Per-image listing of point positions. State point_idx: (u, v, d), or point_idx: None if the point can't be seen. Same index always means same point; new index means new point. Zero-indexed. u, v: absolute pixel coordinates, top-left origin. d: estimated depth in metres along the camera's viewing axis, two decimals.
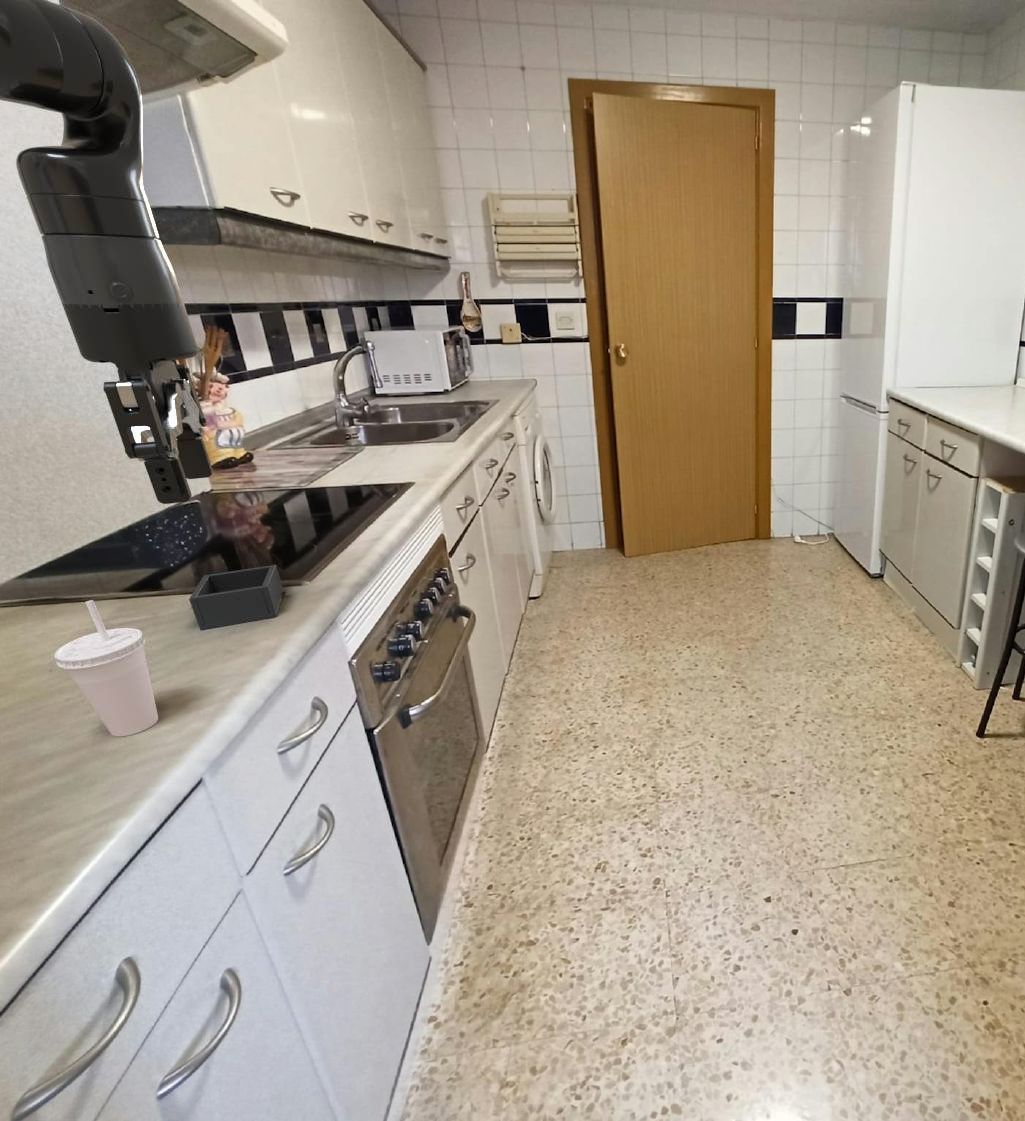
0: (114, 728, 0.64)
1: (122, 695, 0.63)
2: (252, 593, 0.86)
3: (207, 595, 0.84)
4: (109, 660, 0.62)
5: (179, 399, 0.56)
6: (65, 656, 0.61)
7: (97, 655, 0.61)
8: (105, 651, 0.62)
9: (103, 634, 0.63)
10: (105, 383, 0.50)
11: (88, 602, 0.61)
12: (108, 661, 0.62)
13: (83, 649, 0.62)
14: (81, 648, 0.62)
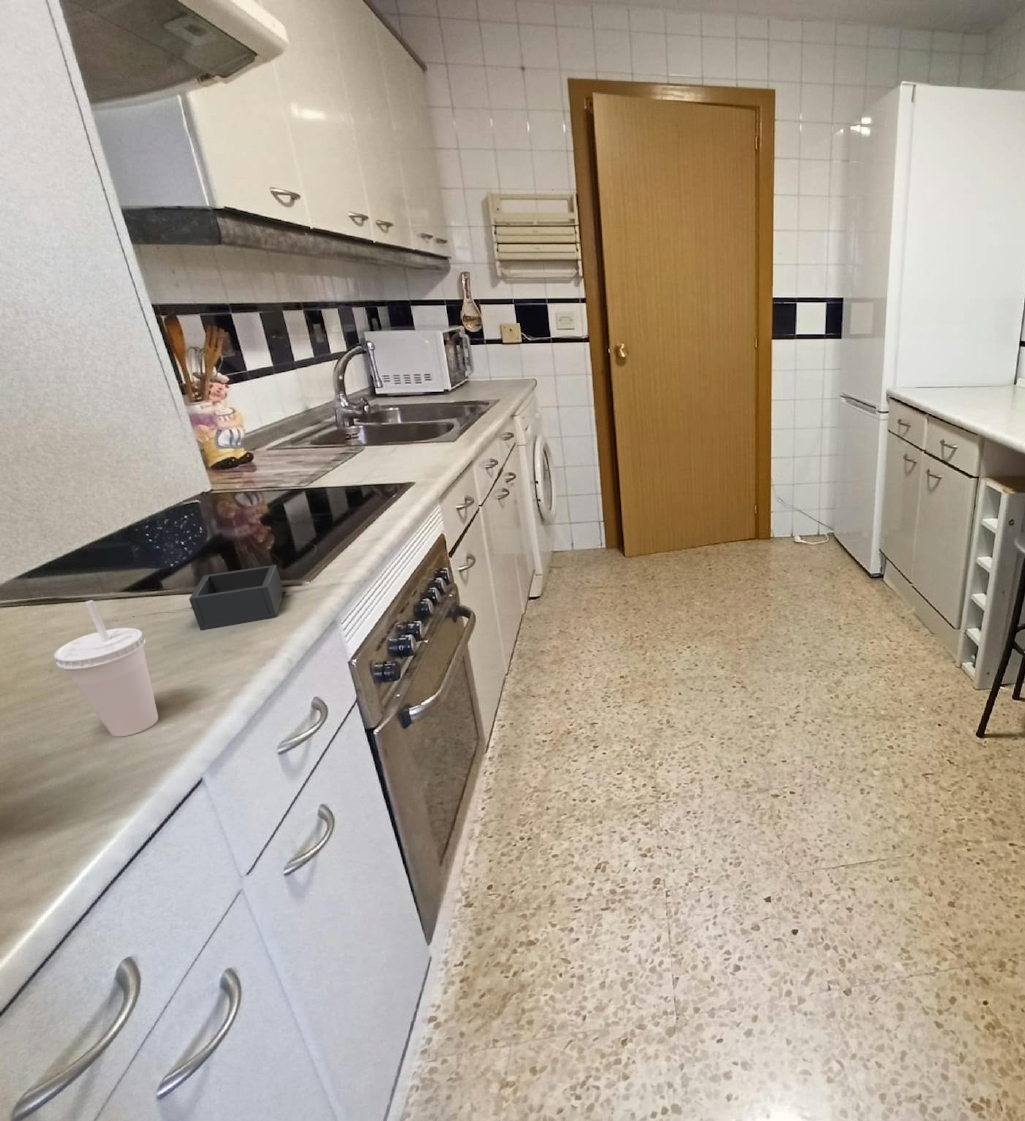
0: (114, 728, 0.64)
1: (121, 695, 0.63)
2: (252, 593, 0.86)
3: (207, 595, 0.84)
4: (109, 660, 0.62)
5: None
6: (65, 656, 0.61)
7: (97, 655, 0.61)
8: (105, 651, 0.62)
9: (103, 634, 0.63)
10: None
11: (88, 602, 0.61)
12: (108, 661, 0.62)
13: (83, 649, 0.62)
14: (81, 648, 0.62)
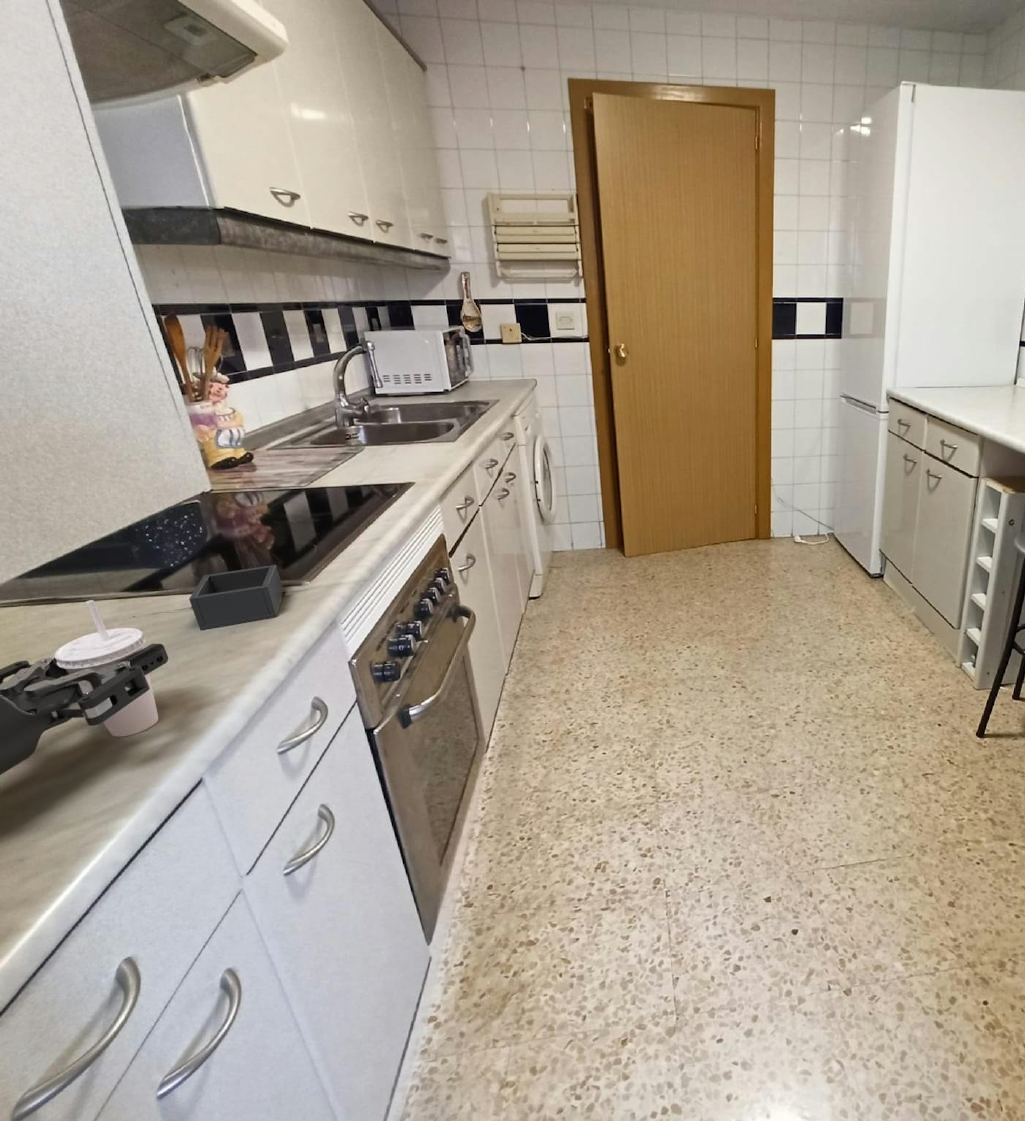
0: (114, 728, 0.64)
1: None
2: (252, 593, 0.86)
3: (207, 595, 0.84)
4: (109, 660, 0.62)
5: None
6: (65, 656, 0.61)
7: (97, 655, 0.61)
8: (105, 651, 0.62)
9: (103, 634, 0.63)
10: None
11: (88, 602, 0.61)
12: (108, 661, 0.62)
13: (83, 649, 0.62)
14: (81, 648, 0.62)
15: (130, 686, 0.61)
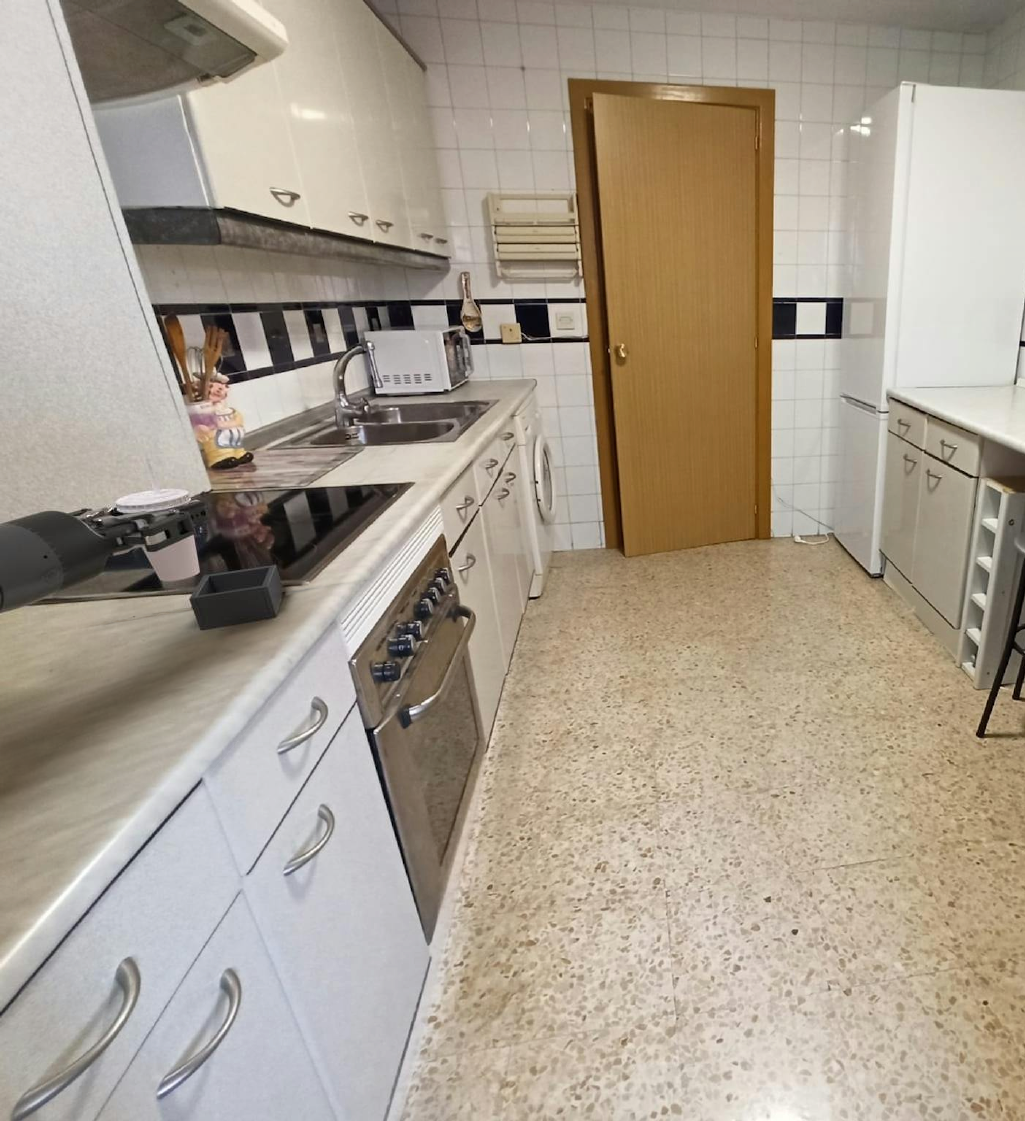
0: (163, 572, 0.75)
1: None
2: (252, 593, 0.86)
3: (207, 595, 0.84)
4: (161, 508, 0.72)
5: None
6: (124, 503, 0.71)
7: (152, 502, 0.71)
8: (158, 501, 0.72)
9: (156, 488, 0.73)
10: None
11: (144, 458, 0.72)
12: (161, 509, 0.72)
13: (139, 499, 0.72)
14: (137, 498, 0.72)
15: (180, 528, 0.71)
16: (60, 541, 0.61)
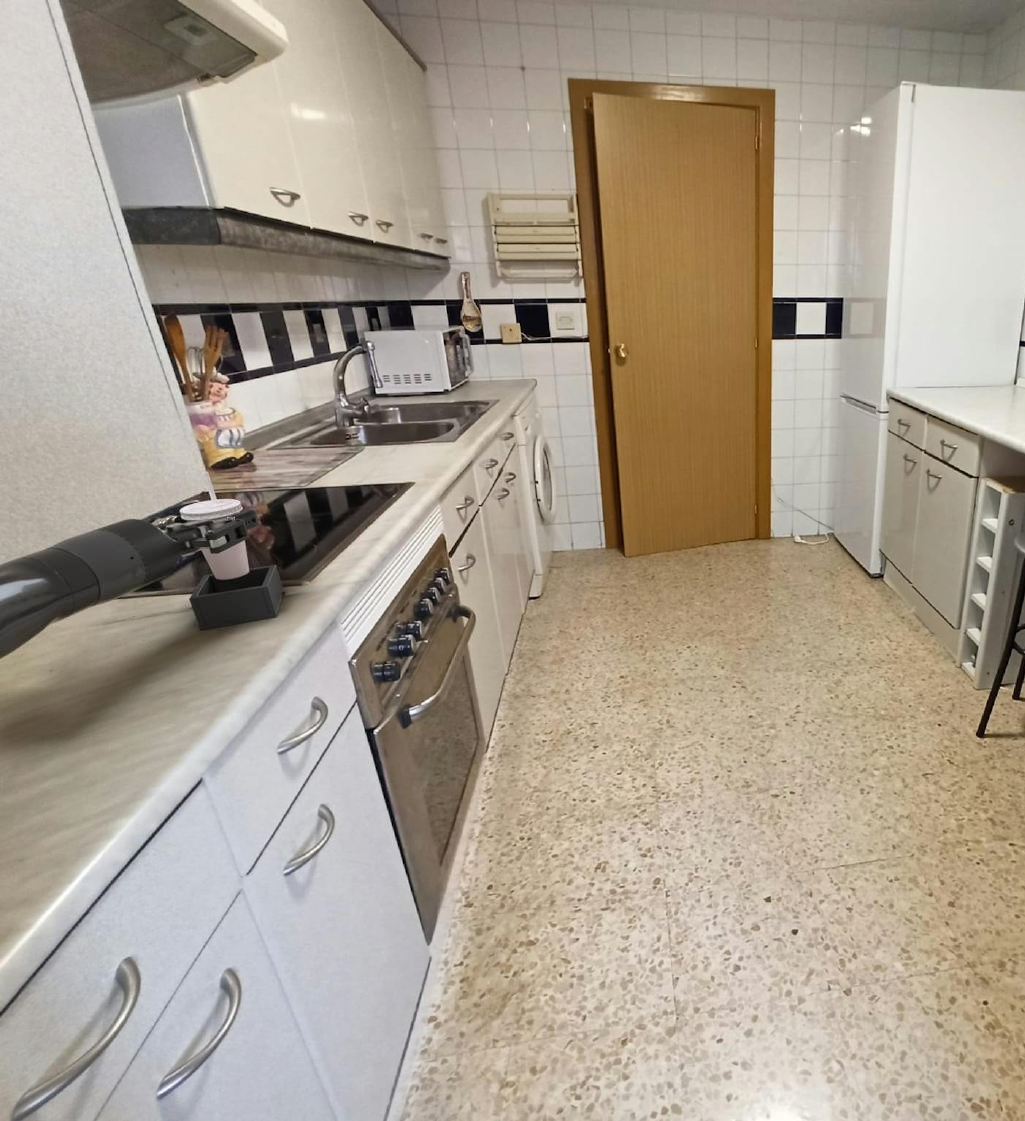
0: (219, 572, 0.86)
1: None
2: (252, 593, 0.86)
3: (207, 595, 0.84)
4: (219, 516, 0.83)
5: None
6: (188, 511, 0.82)
7: (211, 511, 0.82)
8: (216, 509, 0.83)
9: (214, 499, 0.84)
10: None
11: (204, 473, 0.83)
12: (219, 516, 0.83)
13: (200, 508, 0.83)
14: (198, 507, 0.83)
15: (236, 533, 0.82)
16: (142, 544, 0.72)
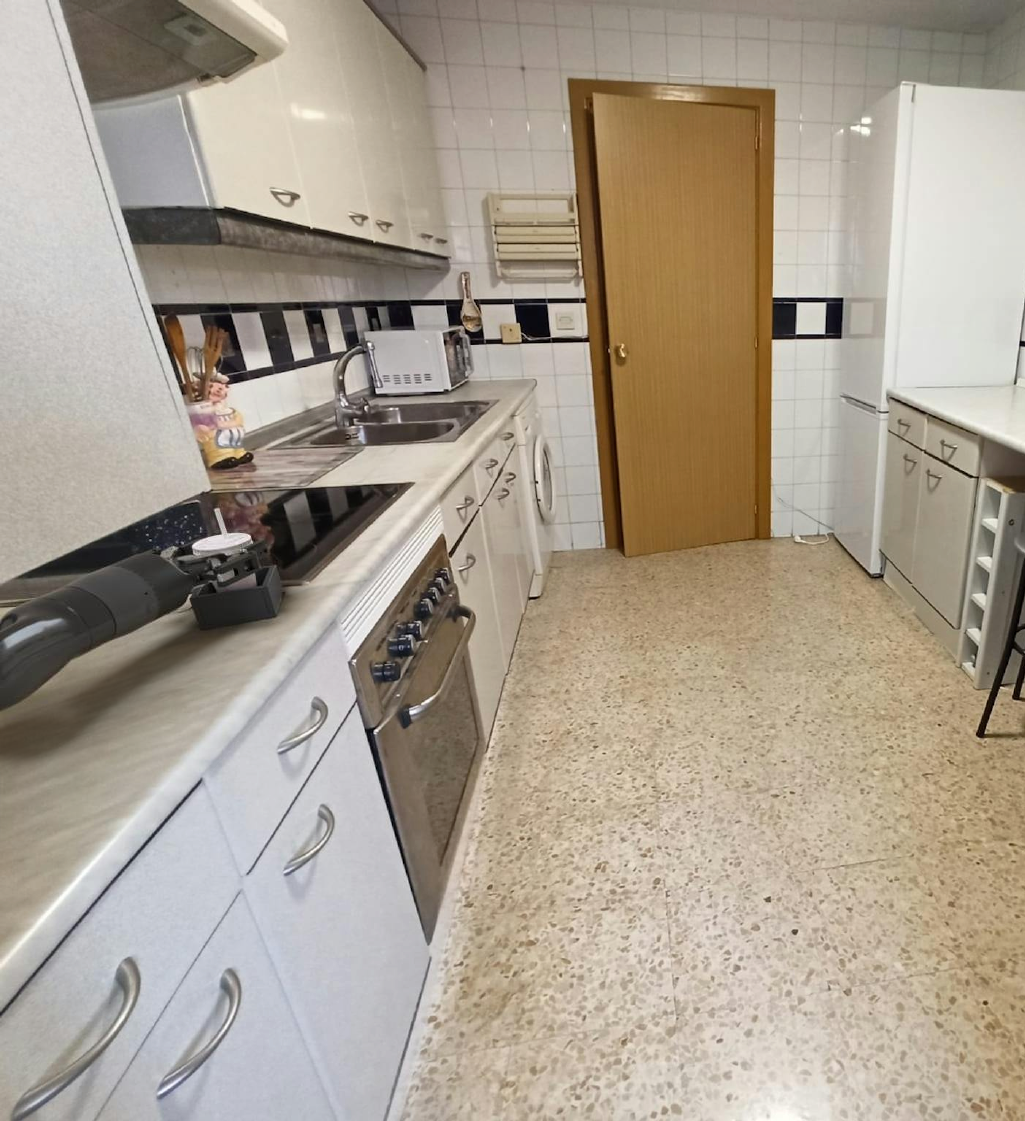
0: None
1: None
2: (252, 593, 0.86)
3: (207, 595, 0.84)
4: (230, 551, 0.85)
5: None
6: (200, 547, 0.84)
7: (223, 547, 0.84)
8: (227, 545, 0.85)
9: (225, 534, 0.86)
10: None
11: (216, 509, 0.85)
12: None
13: (211, 544, 0.85)
14: (210, 543, 0.85)
15: (248, 565, 0.83)
16: (156, 580, 0.74)
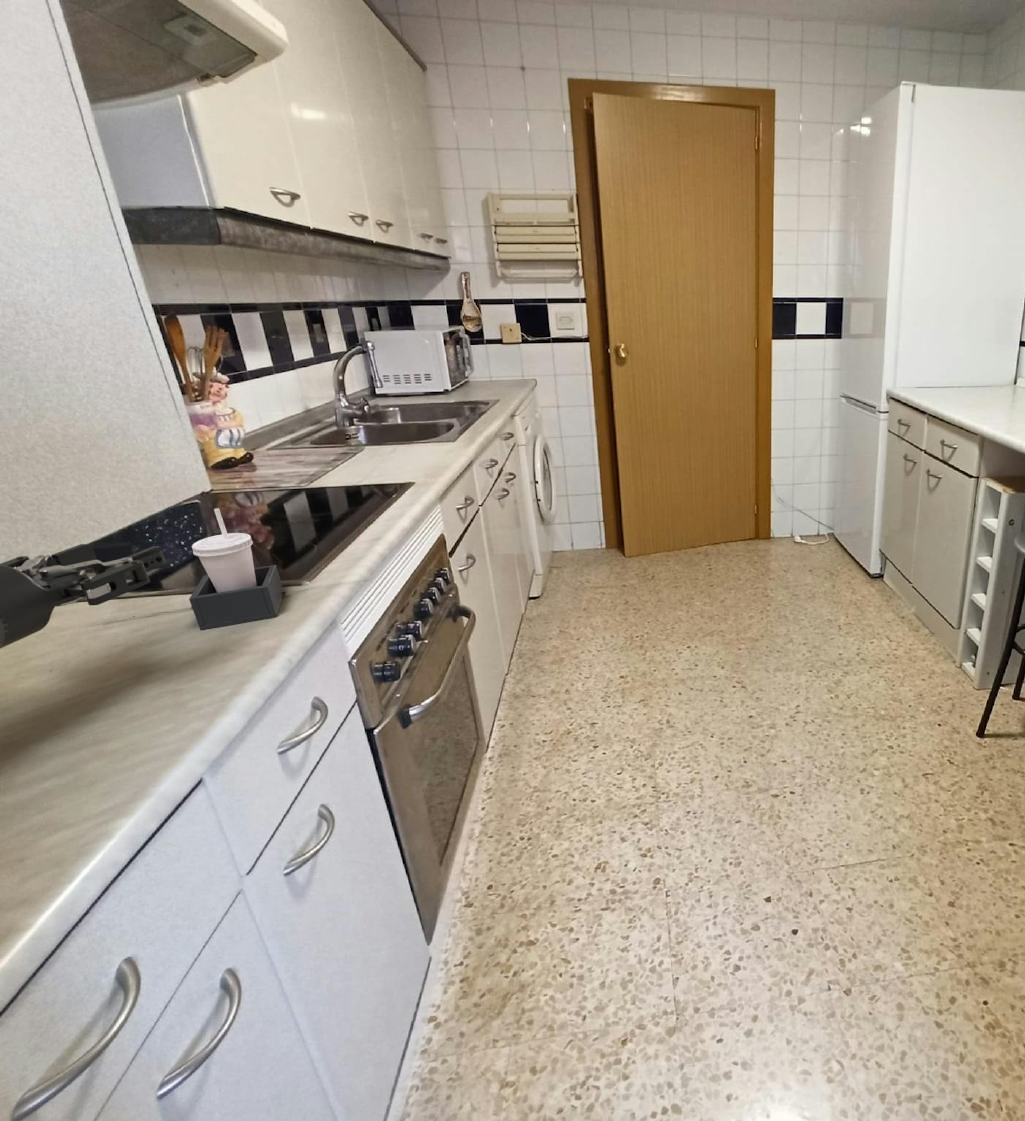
0: None
1: (237, 579, 0.87)
2: (252, 593, 0.86)
3: (207, 595, 0.84)
4: (230, 551, 0.85)
5: None
6: (200, 547, 0.84)
7: (223, 547, 0.84)
8: (227, 545, 0.85)
9: (225, 534, 0.86)
10: None
11: (215, 509, 0.85)
12: (230, 552, 0.85)
13: (211, 544, 0.85)
14: (210, 543, 0.85)
15: (133, 578, 0.69)
16: (1, 597, 0.60)
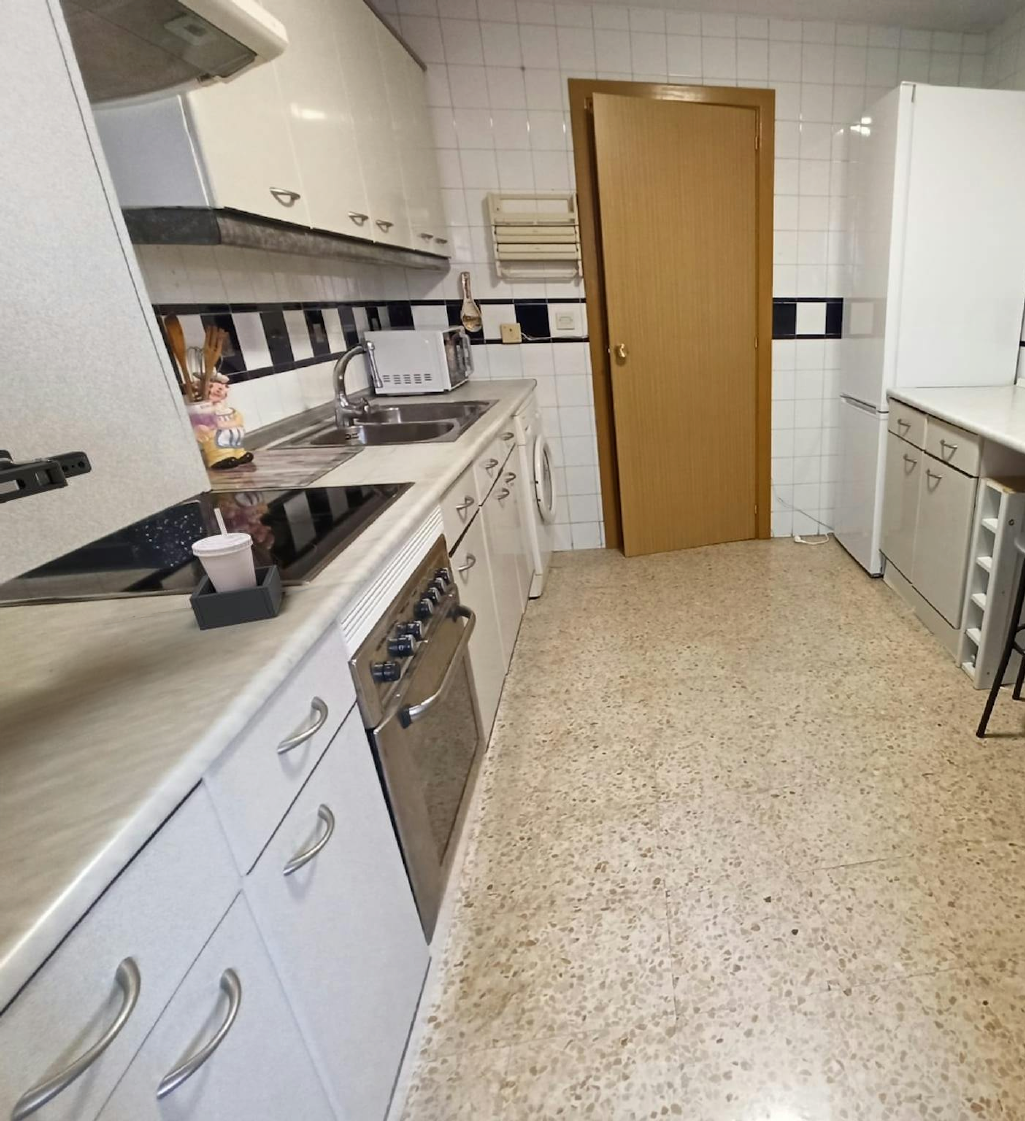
0: None
1: (237, 579, 0.87)
2: (252, 593, 0.86)
3: (207, 595, 0.84)
4: (230, 551, 0.85)
5: None
6: (200, 548, 0.84)
7: (223, 547, 0.84)
8: (227, 545, 0.85)
9: (225, 534, 0.86)
10: None
11: (215, 509, 0.85)
12: (230, 552, 0.85)
13: (211, 544, 0.85)
14: (210, 543, 0.85)
15: (48, 479, 0.62)
16: None
